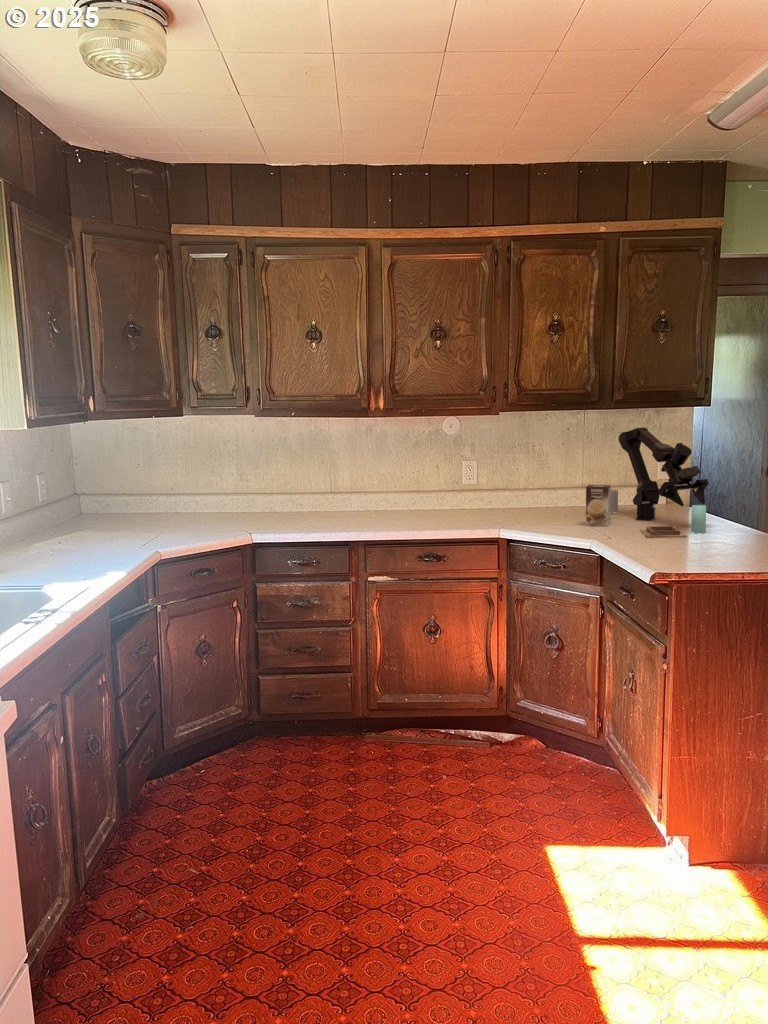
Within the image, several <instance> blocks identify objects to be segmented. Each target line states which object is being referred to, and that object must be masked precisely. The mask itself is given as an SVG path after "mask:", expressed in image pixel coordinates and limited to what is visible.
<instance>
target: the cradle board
mask: <svg viewBox="0 0 768 1024" xmlns="http://www.w3.org/2000/svg"><path fill="white" fill-rule="evenodd" d="M645 527H646V529H639V532H640V533H641V532H642V533H643V534H644V535H645V536H644V535H643V534H642V533H641V534H642V535H643V536H644V537H645V538H646V539H655V538H654V537H687V538H688V535H686V534H685V533H684V532H683V531H681V529H679V528H677V527H676V526H674V525H669V526H667V525H663V526H661V525H659V526H645Z"/></svg>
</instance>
